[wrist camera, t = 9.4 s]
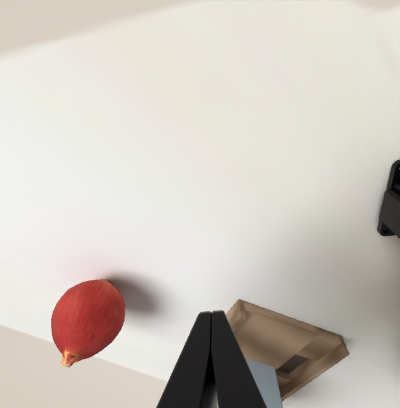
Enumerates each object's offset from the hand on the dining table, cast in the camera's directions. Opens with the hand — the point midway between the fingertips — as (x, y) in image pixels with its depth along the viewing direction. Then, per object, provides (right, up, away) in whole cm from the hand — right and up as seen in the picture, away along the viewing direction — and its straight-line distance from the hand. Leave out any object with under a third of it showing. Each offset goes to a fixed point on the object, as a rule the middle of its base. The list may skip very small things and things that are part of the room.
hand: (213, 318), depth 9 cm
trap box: (+6, -14, +22) cm, 27 cm away
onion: (-10, -4, +17) cm, 20 cm away
